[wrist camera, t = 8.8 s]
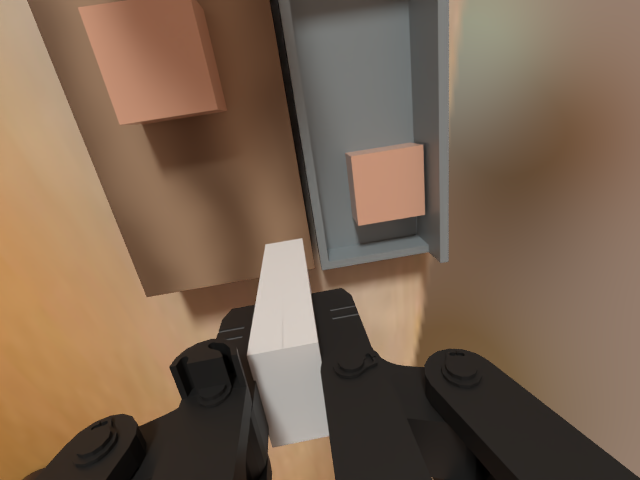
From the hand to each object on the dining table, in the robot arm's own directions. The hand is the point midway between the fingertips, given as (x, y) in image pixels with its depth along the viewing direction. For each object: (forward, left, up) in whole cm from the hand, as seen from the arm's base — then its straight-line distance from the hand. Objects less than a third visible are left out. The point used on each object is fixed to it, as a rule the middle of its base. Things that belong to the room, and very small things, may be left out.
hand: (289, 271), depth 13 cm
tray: (+6, +5, -13) cm, 15 cm away
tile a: (+7, 0, -10) cm, 12 cm away
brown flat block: (-5, +5, -13) cm, 15 cm away
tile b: (-5, +9, -8) cm, 14 cm away
